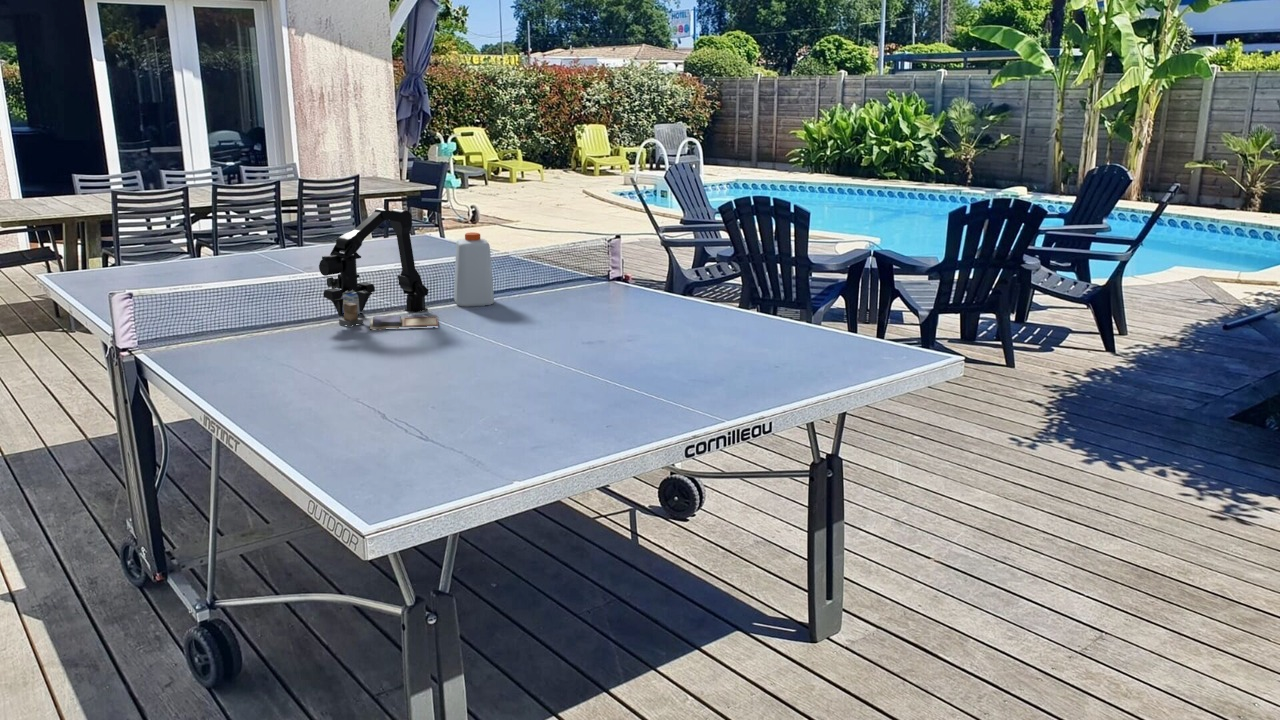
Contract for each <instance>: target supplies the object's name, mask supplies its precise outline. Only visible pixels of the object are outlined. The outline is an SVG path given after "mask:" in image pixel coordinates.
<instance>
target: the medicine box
mask: <svg viewBox="0 0 1280 720" xmlns="http://www.w3.org/2000/svg"><path fill="white" fill-rule="evenodd" d="M342 299H343V304H348V303H354V304H357V311H358V313H362V314H363V311H362V312H360V310H359V297H358V295H357V293H356V292H354V293H349V294H344V295H343V296H342ZM342 313H344V311H342Z"/></svg>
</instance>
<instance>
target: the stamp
mask: <svg viewBox="0 0 1280 720" xmlns="http://www.w3.org/2000/svg"><path fill="white" fill-rule="evenodd" d="M343 311H344V314H343V318H339V319H338V323H339V325H340V324H341V326H344V325H347V326H352V325H356V324H361V325H363V324H364V319H363V318H361V317H358V316H359V315H358V311H357V304H354V303H348V304H343ZM362 323H363V324H362ZM347 326H346V327H347Z"/></svg>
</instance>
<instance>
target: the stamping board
mask: <svg viewBox="0 0 1280 720" xmlns="http://www.w3.org/2000/svg"><path fill="white" fill-rule="evenodd" d="M369 323H370V324H369V330H370V329H386V328H399V327H427V326H438V327H439V322H438V317H437V316H417V317H416V316H414V317H413V316H412V317H410V316H409V317H402V316H401V315H376V316H372V318H371V319H370V322H369Z"/></svg>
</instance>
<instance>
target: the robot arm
mask: <svg viewBox="0 0 1280 720" xmlns="http://www.w3.org/2000/svg"><path fill="white" fill-rule="evenodd" d="M386 220H387V221H389V223H390V226H391V229H392V230H393V231H394V233H395V234H396V241H397V246H398V253H399V257H400V264H401V272H400V274H397V281H398V286H400V288H401V290H402V292H403V294H404V295H406V299H405V300H406V308H404V311H407V312H411V313H419V312H423V311H424V312H425V311H428V309H429V308H428V307H426V298H425V297H427V296H428V294H429V289H428V288H427V287H426V286H425V285H424V284H423V281H422V277H421V275H420V273H419V272H418V271H417V269H416V265H415V258H414V252H413V251H414V250H413V247H412V241H411V240H412V239H411V234H410V233H411V229H412V226H413V216H412V213H411V212H410V211H409V210H405V209H399V208H394V209H392V210H391V209H390V210H389V209H387V208H383V207H382V208H381V207H378V208H375V210H374V212H372V214H370V215H369V216H368V217H367V218H365V219H364V220H363V221H362V222H361V223H360V224H358V226H356V227H355V228H354V229H353V230H351V231H348V232H345V233H344V234H341V236H339V237H338V238H337V239H336V241H335V244H334V246H333V248H332V250H331V252H330V254H329V255H323V256H321V260H320V261H319V264H318V269H319V272H320V274H321V275H323V276H324V277H326V276H331V275H337V278H334V276H331V277H328V278H326V286H327V287H328V288H326V289H324V291H323V298H326V299H327V300H329V301H331V302H332V304H333V306H334V307H335V310H336V312H337V314H338V317H342V316H343V314H342V311H343V299H342V296H343V295H344V294H349V293H354V292H356V293H357V295H358V297H359V310H360V312H362V313H363V312H364V310H365V307H366V304H367V302H368V301H369V299H370V296H371V295H373V293H374V292H376V288H375V287H376V286H375V285H374V283H370V282H366V281H365V282H359V283H358V278H360V274H358V272H357V270H358V269H357V259H358V260H359V259H362V256H361V255H360V254H359V253H358V250H359V249H360V248H361V247H362V245H363V241H364V240H365V239H366V238H367V237H369V235H370V234H372V233H373V232H374V231H375V230H376V229H378V228H379V226H381V225H382V224H383V223H384V222H385V221H386Z"/></svg>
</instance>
